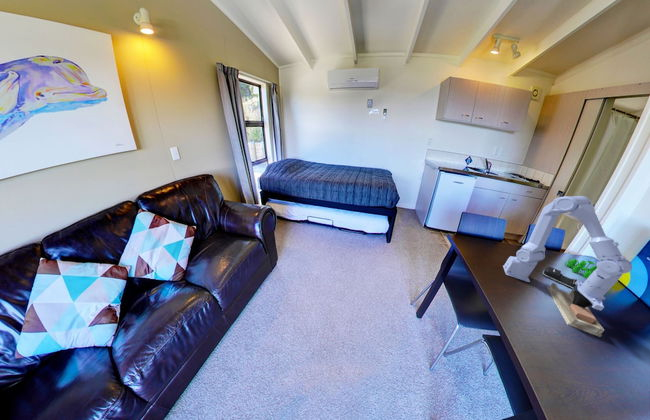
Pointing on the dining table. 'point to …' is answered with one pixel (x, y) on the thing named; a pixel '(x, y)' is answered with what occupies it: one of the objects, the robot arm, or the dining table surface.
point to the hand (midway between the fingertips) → (575, 308)
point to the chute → (564, 303)
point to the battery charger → (559, 277)
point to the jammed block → (583, 314)
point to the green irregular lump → (581, 265)
